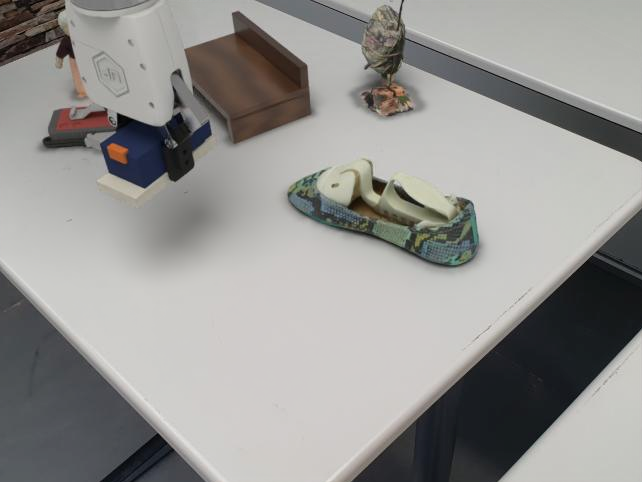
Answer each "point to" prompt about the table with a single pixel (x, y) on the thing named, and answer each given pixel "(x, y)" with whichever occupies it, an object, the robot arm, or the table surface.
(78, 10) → the robot arm
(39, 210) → the table surface
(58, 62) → the grandmother figurine
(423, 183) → the ballet flat
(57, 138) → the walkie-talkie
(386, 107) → the plant with pod
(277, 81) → the shoe shelf
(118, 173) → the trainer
